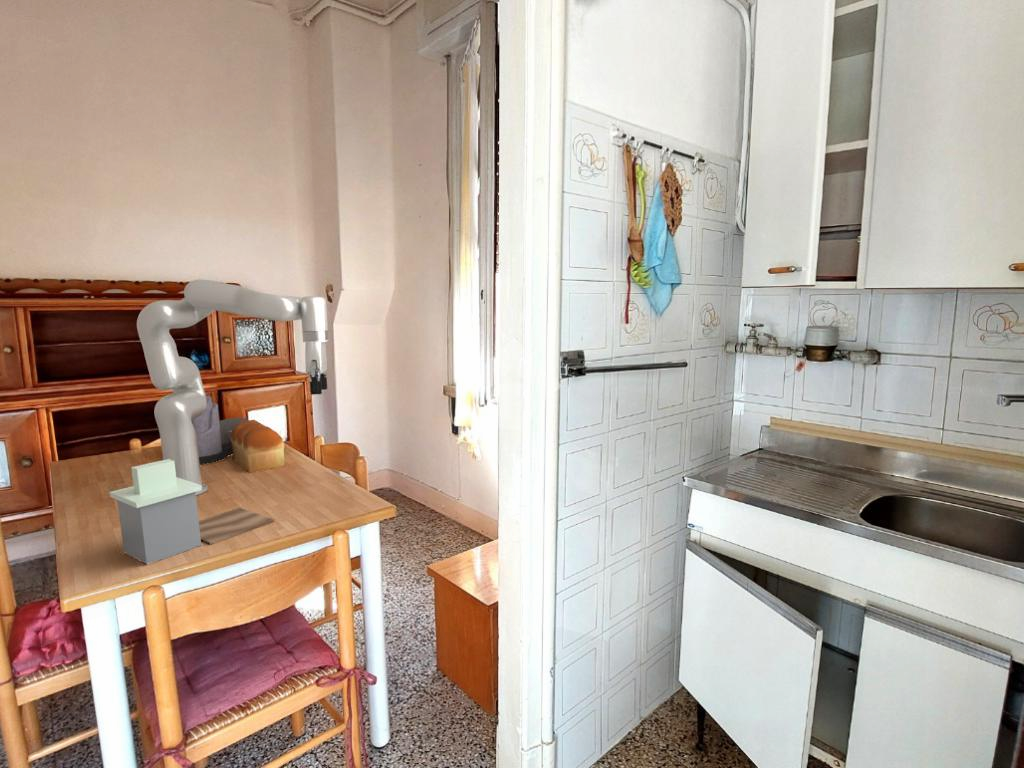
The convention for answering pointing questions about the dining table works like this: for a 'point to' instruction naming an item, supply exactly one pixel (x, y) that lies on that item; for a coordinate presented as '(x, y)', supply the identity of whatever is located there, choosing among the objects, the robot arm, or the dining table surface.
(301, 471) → the dining table surface
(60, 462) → the dining table surface
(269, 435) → the bread
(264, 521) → the walnut board
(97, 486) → the dining table surface
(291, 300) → the robot arm
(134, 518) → the storage box
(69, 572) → the dining table surface
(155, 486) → the box lid
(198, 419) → the juicer
